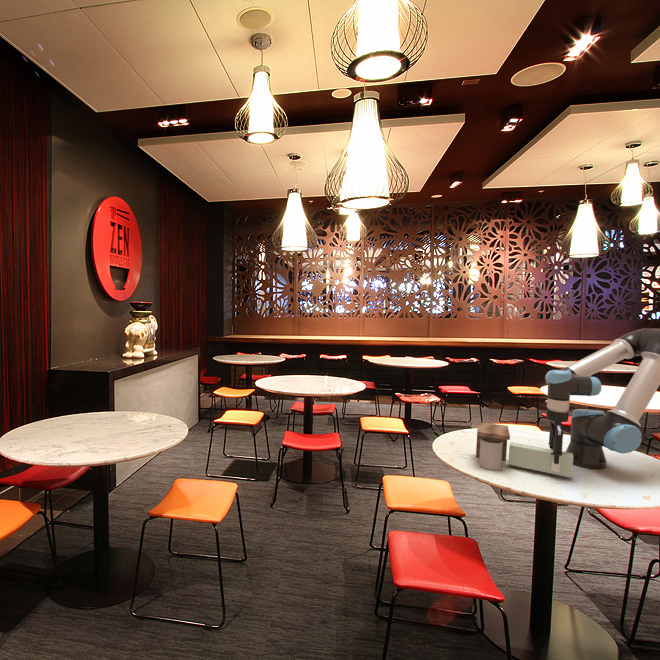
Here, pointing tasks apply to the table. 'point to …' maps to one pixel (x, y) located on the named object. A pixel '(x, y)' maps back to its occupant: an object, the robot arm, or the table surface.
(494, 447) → the mug
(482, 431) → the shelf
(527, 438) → the table surface
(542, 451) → the pale green block
